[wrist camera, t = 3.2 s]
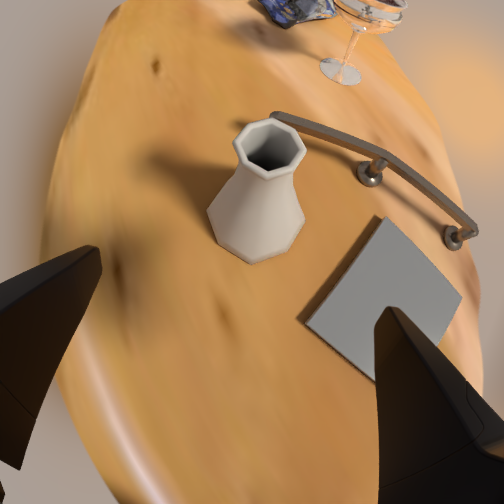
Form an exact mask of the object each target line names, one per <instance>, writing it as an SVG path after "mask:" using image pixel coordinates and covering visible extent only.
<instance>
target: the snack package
mask: <svg viewBox="0 0 504 504" xmlns="http://www.w3.org/2000/svg"><path fill="white" fill-rule="evenodd" d="M258 1H259V2H260V3H262V4H263V5H264V6H265V8H266V9H267V11H268V13H269V14H270V16H271V18H272V21H274V22H275V23H277V24H279V25H280V26H282V27H283V28H284V29H288V28H291V27H292V26H294V25H295V24H298V23H301V22H305V21H309V20H312V19H320V18H332V17H335V16H336V15H338V13H337V12H336V11H335V9H334V7H333V3H332V0H258ZM334 12H335V14H334ZM294 13H295V14H294ZM321 14H331V15H332V17H323V16H317V15H321ZM273 17H274V19H273Z"/></svg>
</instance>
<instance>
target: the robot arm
mask: <svg viewBox="0 0 504 504" xmlns="http://www.w3.org/2000/svg"><path fill="white" fill-rule="evenodd" d="M101 275H102V263H101V256H100V251H99V248H98V247H96V246H92V245H85V246H82V247H80V248H77V249H75V250H73V251H70V252H68V253H65V254H63V255H61V256H58V257H56V258H54V259H52V260H49V261H47V262H45V263H43V264H40V265H38V266H36V267H34V268H32V269H30V270H27V271H25V272H23V273H21V274H19V275H17V276H15V277H13V278H11V279H8V280H7V281H4V282H2V283H1V284H0V460H1V461H3V462H4V463H6V464H8V465H10V466H11V467H13V468H15V469H17V470H20V469H21V466H22V463H23V459H24V456H25V452H26V449H27V446H28V443H29V440H30V437H31V433H32V431H33V428H34V425H35V422H36V419H37V416H38V414H39V411H40V408H41V406H42V403H43V400H44V398H45V396H46V393H47V391H48V388H49V386H50V384H51V382H52V379H53V377H54V375H55V372H56V370H57V368H58V366H59V364H60V361H61V359H62V357H63V355H64V353H65V351H66V349H67V347H68V345H69V343H70V341H71V339H72V337H73V335H74V333H75V331H76V329H77V327H78V325H79V323H80V321H81V320H82V318H83V316H84V314H85V311H86V309H87V307H88V305H89V302H90V300H91V297H92V295H93V293H94V291H95V288H96V286H97V284H98V282H99V279H100V277H101ZM374 373H375V385H376V397H377V411H378V430H379V491H378V504H504V421H503V420H502V419H501V418H500V417H499V415H498V414H497V413H496V412H495V411H494V410H493V409H492V408H491V407H490V406H489V405H488V404H487V403H486V402H485V400H484V399H483V398H482V397H481V396H480V395H479V394H478V393H477V391H476V390H475V389H474V388H473V387H472V386H471V385H470V383H469V382H468V381H466V379H465V378H464V376H463V375H462V374H461V373H460V372H459V371H458V370H457V369H456V367H455V366H454V365H453V364H452V363H451V362H450V361H449V360H448V359H447V357H446V356H445V355H444V354H443V353H442V352H441V351H440V350H439V349H438V348H437V347H436V345H435V344H434V343H433V342H432V341H431V340H430V339H429V338H428V337H427V336H426V335H425V334H424V333H423V332H422V331H421V330H420V329H419V328H418V326H417V325H416V324H415V323H414V322H413V321H412V320H411V319H410V318H409V317H408V316H407V315H406V314H405V313H404V312H403V311H402V310H401V309H400V308H398V307H394V306H387V307H386V308H385V309H384V310H383V312H382V314H381V315H380V317H379V319H378V320H377V322H376V324H375V326H374ZM4 496H5V492H4V490H3V487H2V484H1V481H0V504H2V502H3V499H4Z"/></svg>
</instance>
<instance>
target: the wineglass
mask: <svg viewBox="0 0 504 504" xmlns="http://www.w3.org/2000/svg"><path fill="white" fill-rule="evenodd" d="M332 3H333V7H334V9H335V11H336V12H337V13H338V15H339V16H340V18H341V19H342V20H343V21H344V22H345V23H346V24H348V25H349V26H351V29H352V30H353V33H352V36H351V39H350V42H349V45H348V48H347V51H346V54H345V57H344V60H342V59H338V58H326V59H324V60H323V61H321V63H320V68H321V70H322V72H323V73H324V74H325V75H326V76H327V77H328V78H330V79H331V80H333V81H335V82H337V83H340V84H344V85H356V84H358V83H359V82H360V81H361V74H360V72H359V71H358V69H357V68H356V67H355V66H353V65H352V64H350V63H349V62H347V61H348V59H349V57H350V54H351V52H352V50H353V48H354V46H355V44H356V42H357V40H358V38H359V36H360V34H364V33H368V34H380V33H387V32H391V31H392V30H394V29H395V28H396V27H397V26H398V25H399V24H400V23H401V21H402V12H401V11H402V10H404V9H406V8H407V7H408V4H407V3H406V2H405V0H332Z"/></svg>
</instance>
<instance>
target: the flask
mask: <svg viewBox="0 0 504 504" xmlns="http://www.w3.org/2000/svg"><path fill="white" fill-rule="evenodd" d="M232 144H233V147H234V149H235V151H236V153H237V156H238V158H239V164H238V166H237V169H236V171H235V174H234V175H233V176H232V177H231V178H230V179H229V180H228V181H227V182H226V184H225V185H224V186H223V188H222V189H221V190H220V192H219V193H218V195H217V196H216V197H215V199H214V200H213V201H212V203H211V204H210V206H209V207H208V208H207V210H206V212H207V214H208V217H209V220H210V223H211V225H212V228H213V231H214V234H215V236H216V239H217V242H218V245H220V246H222V247H223V248H225V249H226V250H228V251H230V252H231V253H233V254H234V255H236V256H238V257H239V258H241V259H242V260H244V261H246V262H247V263H249V264H250V265H253V264H256V263H259V262H261V261H264V260H267V259H269V258H272V257H274V256H277V255H280V254H282V253H285V252H288V250H289V248H290V247H291V245H292V243H293V242H294V240H295V238H296V236H297V235H298V233H299V231H300V230H301V228H302V226H303V225H304V223H305V221H306V220H305V217H304V214H303V212H302V210H301V207H300V205H299V202H298V199H297V196H296V193H295V190H294V187H293V172H294V171H295V169H296V168H297V166H298V165H299V163H300V162H301V160H302V158H303V157H304V155H305V154H306V152H307V149H306V147H305V146H304V144H303V142H302V140H301V138H300V137H299V135H298V133H297V131H296V129H294V128H292V127H290V126H288V125H286V124H285V123H283V122H281V121H279V120H277V119H275V118H273V117H271V118H267V119H263V120H259V121H255V122H251V123H248V124H247V125H246V126H245V127H244V128H243V129H242V131H241V132H240V133H239V134H238V135H237V137H236V138H235V139H234V140H233V142H232Z"/></svg>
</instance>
